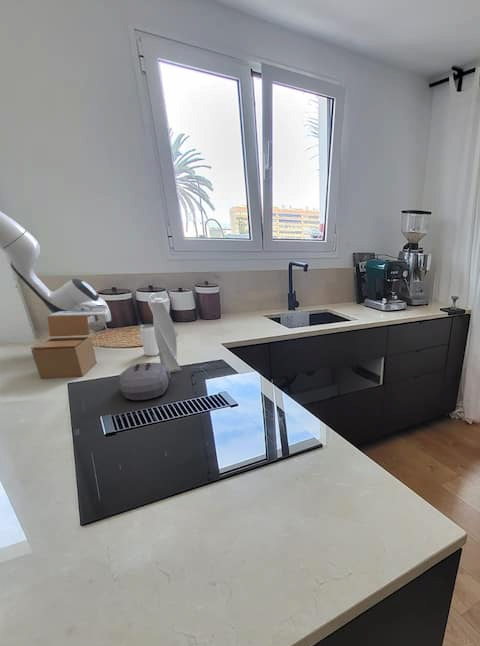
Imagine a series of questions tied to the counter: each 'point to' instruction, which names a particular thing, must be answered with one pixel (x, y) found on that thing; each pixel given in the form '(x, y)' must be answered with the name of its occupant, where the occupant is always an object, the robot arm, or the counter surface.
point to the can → (149, 340)
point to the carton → (64, 357)
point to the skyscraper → (164, 333)
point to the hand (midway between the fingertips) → (74, 321)
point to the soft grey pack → (144, 381)
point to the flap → (68, 325)
